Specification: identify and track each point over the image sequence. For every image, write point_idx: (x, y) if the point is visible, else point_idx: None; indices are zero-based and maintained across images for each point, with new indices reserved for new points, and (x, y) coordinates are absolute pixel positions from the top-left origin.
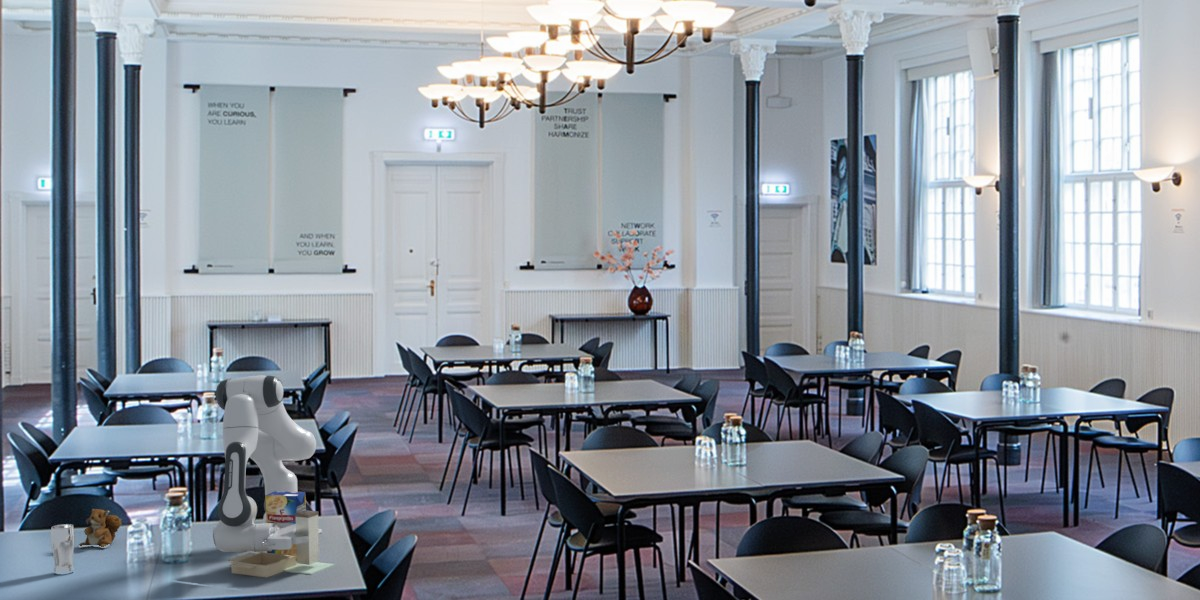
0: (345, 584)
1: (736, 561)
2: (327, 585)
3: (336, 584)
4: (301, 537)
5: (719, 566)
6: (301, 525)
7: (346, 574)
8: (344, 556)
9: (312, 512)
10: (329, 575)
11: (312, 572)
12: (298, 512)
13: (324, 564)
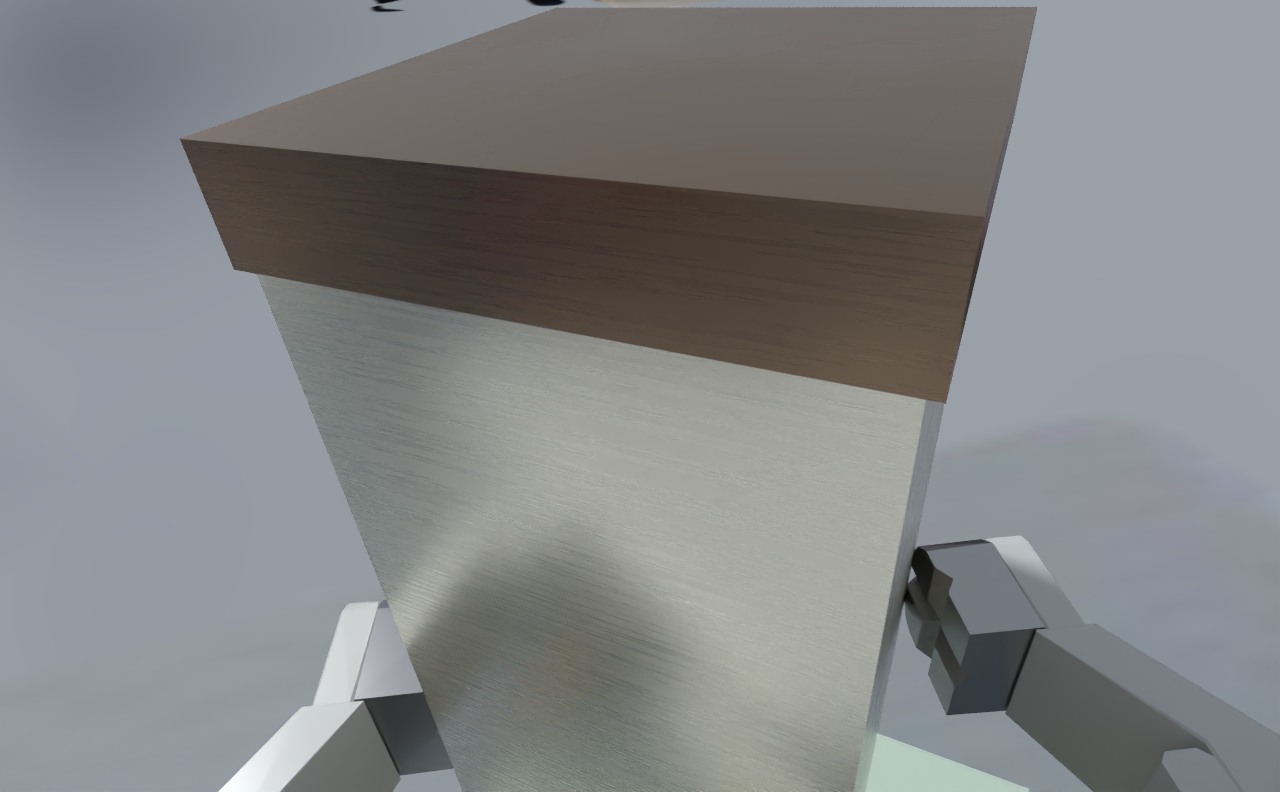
0: (1138, 464)
1: (633, 4)
2: (1252, 571)
3: (1176, 516)
4: (1103, 638)
5: (668, 7)
6: (920, 492)
7: None
8: (170, 661)
9: (672, 23)
10: (909, 632)
11: (981, 786)
12: (659, 175)
13: None
